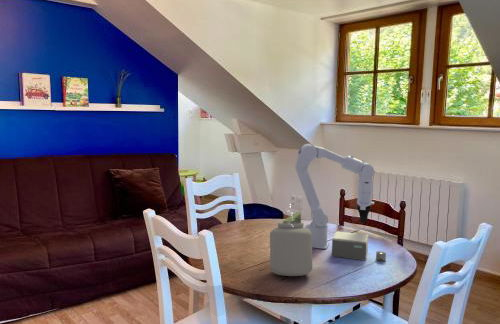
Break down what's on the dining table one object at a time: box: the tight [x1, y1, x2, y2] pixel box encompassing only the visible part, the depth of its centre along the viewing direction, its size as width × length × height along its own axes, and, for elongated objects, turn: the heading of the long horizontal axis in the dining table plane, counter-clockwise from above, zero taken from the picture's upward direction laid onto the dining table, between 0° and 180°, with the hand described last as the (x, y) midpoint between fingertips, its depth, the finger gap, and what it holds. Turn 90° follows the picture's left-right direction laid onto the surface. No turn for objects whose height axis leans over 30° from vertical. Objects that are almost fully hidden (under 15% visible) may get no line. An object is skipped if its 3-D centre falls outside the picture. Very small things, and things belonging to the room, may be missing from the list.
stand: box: [375, 250, 387, 263], centre depth 161 cm, size 4×4×3 cm
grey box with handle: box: [331, 238, 367, 261], centre depth 166 cm, size 13×10×7 cm
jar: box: [269, 203, 313, 277], centre depth 146 cm, size 19×15×25 cm
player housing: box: [332, 231, 369, 260], centre depth 167 cm, size 13×10×7 cm
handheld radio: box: [282, 211, 302, 223], centre depth 200 cm, size 7×3×25 cm
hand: (363, 222), depth 176 cm, fingers closed
